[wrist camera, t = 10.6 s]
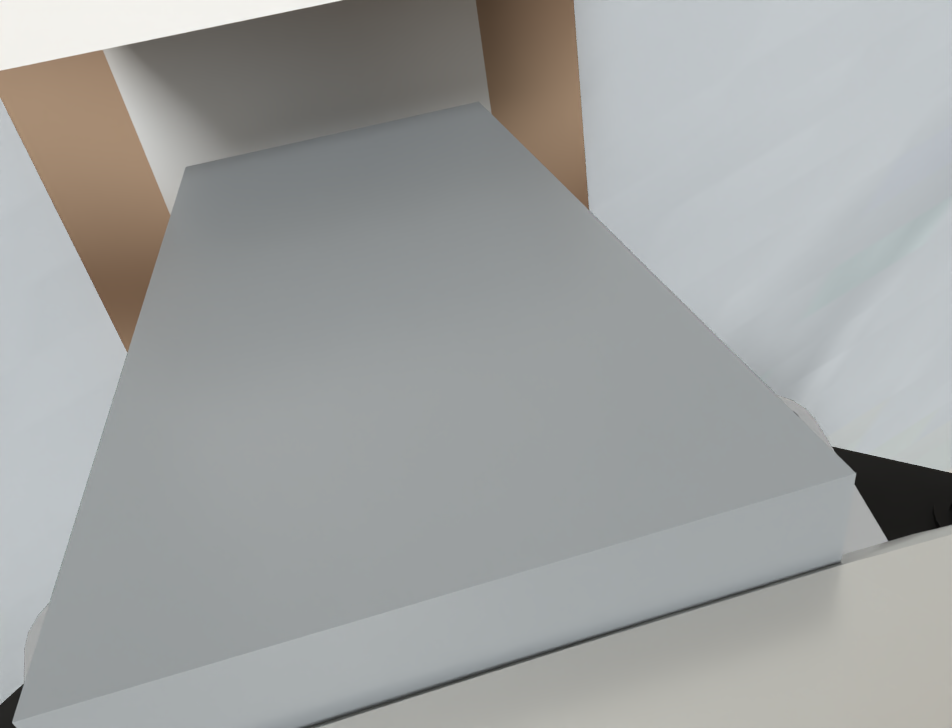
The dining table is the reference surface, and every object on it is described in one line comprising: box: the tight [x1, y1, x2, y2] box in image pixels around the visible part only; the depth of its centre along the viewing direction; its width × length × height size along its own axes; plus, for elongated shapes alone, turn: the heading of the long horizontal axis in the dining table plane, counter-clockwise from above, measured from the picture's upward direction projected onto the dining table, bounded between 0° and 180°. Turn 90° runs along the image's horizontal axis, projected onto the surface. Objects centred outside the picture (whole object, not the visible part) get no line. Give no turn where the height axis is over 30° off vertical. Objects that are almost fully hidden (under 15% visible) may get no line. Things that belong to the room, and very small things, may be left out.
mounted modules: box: [0, 0, 341, 71], centre depth 13 cm, size 22×6×5 cm, turn 10°
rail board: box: [0, 0, 589, 353], centre depth 16 cm, size 28×10×2 cm, turn 10°
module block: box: [12, 101, 856, 728], centre depth 10 cm, size 7×5×9 cm
